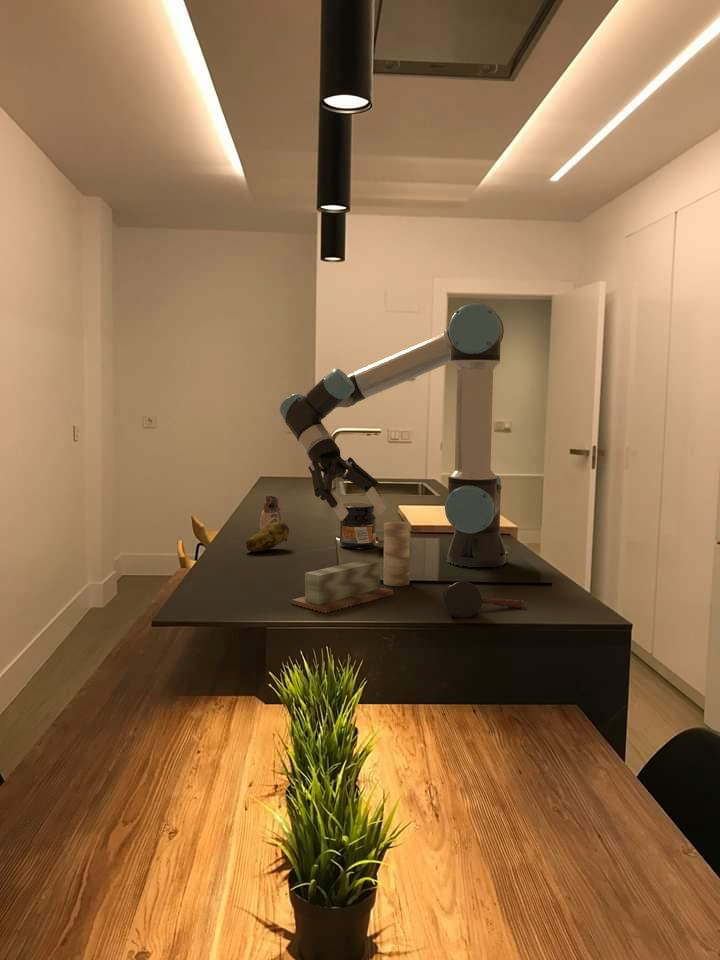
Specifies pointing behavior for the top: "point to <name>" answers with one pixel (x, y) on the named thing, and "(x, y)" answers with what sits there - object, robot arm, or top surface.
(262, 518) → the figurine
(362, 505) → the supplement container
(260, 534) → the potato
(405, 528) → the rod
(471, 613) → the coffee pot
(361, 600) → the stand
